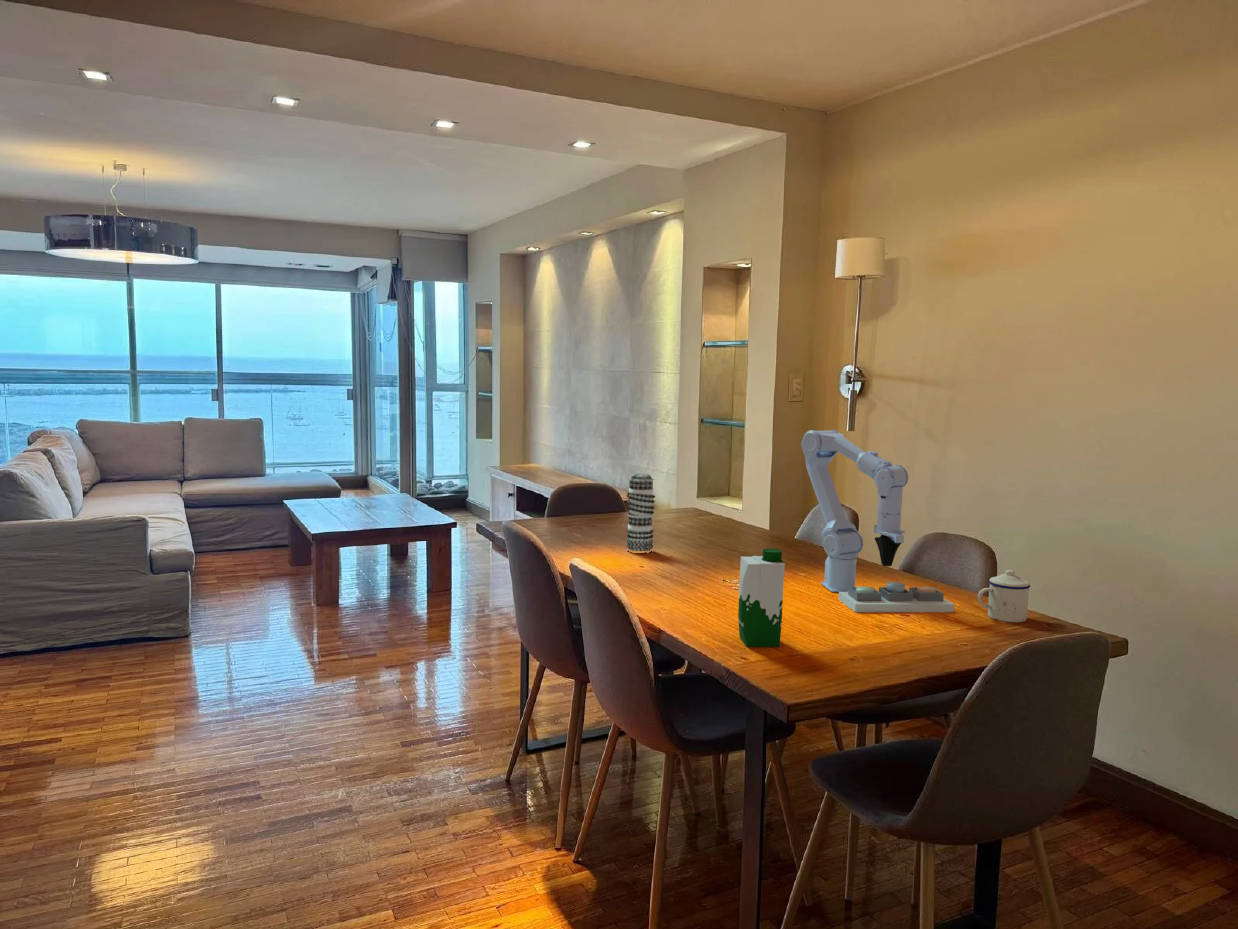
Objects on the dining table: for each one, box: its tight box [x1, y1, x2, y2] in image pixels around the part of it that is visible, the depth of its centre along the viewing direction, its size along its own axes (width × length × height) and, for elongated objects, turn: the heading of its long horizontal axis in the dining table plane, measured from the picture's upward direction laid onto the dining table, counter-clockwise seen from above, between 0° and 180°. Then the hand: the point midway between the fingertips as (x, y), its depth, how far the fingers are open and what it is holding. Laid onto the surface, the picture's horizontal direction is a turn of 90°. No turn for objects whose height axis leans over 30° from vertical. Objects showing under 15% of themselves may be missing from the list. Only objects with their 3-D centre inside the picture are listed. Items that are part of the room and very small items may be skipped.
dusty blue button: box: [886, 581, 906, 593], centre depth 215 cm, size 4×4×2 cm
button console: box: [838, 586, 955, 613], centre depth 215 cm, size 12×25×4 cm, turn 95°
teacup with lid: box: [977, 569, 1031, 624], centre depth 206 cm, size 12×9×12 cm
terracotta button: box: [917, 586, 936, 593], centre depth 216 cm, size 4×4×2 cm
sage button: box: [855, 586, 875, 593], centre depth 215 cm, size 4×4×2 cm
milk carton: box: [737, 548, 786, 648], centre depth 182 cm, size 9×9×20 cm
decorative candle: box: [626, 473, 656, 551], centre depth 275 cm, size 9×9×25 cm
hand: (886, 565), depth 218 cm, fingers closed
